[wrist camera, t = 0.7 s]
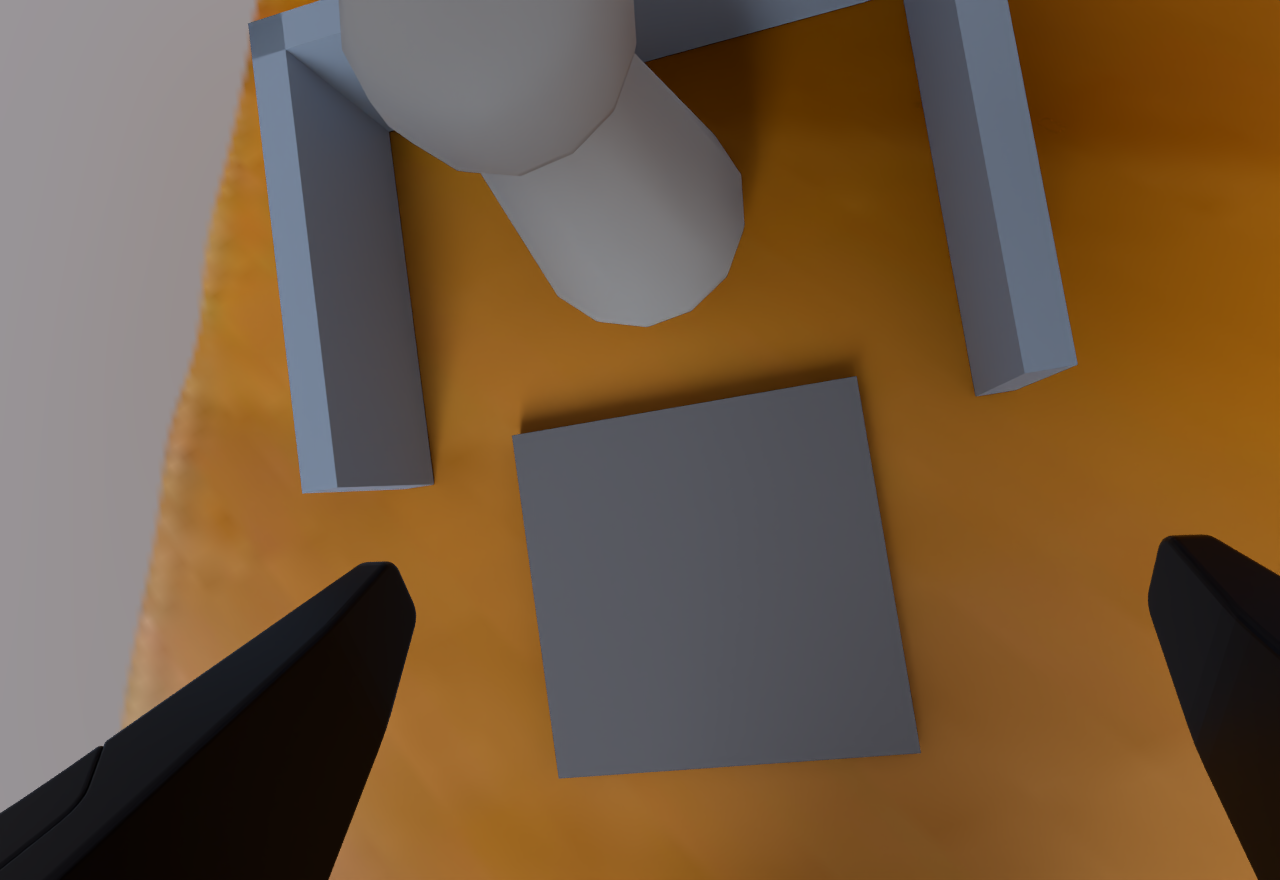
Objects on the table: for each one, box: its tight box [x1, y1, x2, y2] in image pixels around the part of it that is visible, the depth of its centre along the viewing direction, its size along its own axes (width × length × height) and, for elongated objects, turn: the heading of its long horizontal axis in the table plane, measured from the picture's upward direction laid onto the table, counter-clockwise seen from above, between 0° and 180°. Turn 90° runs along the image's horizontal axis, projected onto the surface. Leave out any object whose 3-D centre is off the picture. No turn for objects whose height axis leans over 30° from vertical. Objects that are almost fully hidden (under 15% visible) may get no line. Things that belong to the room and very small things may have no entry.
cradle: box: [248, 0, 1078, 493], centre depth 20 cm, size 12×18×5 cm
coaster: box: [512, 376, 921, 778], centre depth 22 cm, size 10×10×1 cm
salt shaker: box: [339, 0, 744, 327], centre depth 17 cm, size 6×6×13 cm
